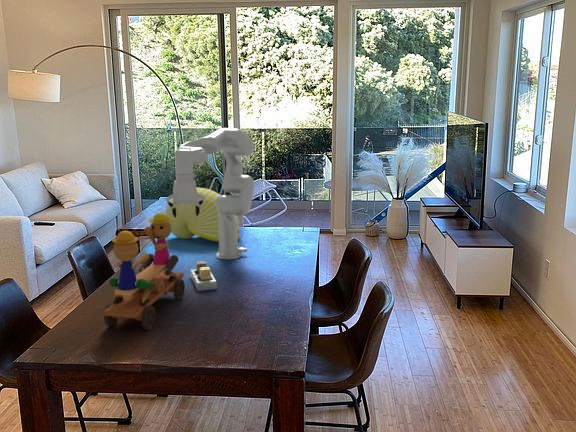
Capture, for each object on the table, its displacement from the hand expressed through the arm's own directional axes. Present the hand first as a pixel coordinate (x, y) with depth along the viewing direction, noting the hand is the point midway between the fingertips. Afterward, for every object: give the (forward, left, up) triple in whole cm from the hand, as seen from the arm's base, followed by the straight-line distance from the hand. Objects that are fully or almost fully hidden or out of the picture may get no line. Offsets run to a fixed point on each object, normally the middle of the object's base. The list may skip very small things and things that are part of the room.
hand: (186, 215), depth 254 cm
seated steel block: (-5, +6, -28) cm, 29 cm away
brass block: (-5, +15, -28) cm, 32 cm away
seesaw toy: (+21, +36, -29) cm, 51 cm away
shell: (-17, -63, -29) cm, 72 cm away
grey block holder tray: (-5, +10, -28) cm, 30 cm away
